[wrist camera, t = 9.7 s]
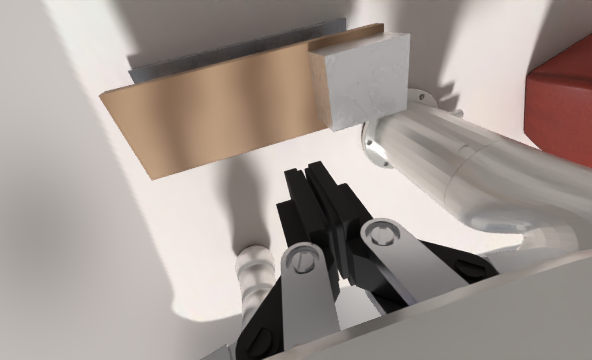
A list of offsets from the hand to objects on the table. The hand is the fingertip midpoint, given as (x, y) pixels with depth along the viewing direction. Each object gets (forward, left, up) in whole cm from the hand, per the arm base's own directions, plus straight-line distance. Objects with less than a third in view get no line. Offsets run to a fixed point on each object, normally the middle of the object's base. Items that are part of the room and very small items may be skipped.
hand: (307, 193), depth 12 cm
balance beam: (0, 0, -16) cm, 16 cm away
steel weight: (-8, -1, -14) cm, 17 cm away
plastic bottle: (+8, +28, -24) cm, 37 cm away
